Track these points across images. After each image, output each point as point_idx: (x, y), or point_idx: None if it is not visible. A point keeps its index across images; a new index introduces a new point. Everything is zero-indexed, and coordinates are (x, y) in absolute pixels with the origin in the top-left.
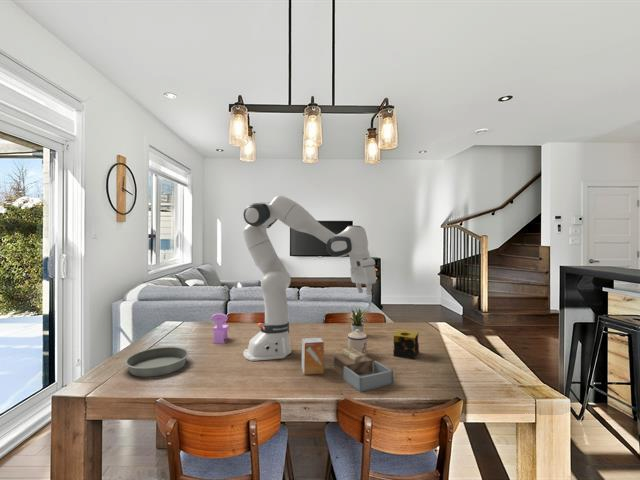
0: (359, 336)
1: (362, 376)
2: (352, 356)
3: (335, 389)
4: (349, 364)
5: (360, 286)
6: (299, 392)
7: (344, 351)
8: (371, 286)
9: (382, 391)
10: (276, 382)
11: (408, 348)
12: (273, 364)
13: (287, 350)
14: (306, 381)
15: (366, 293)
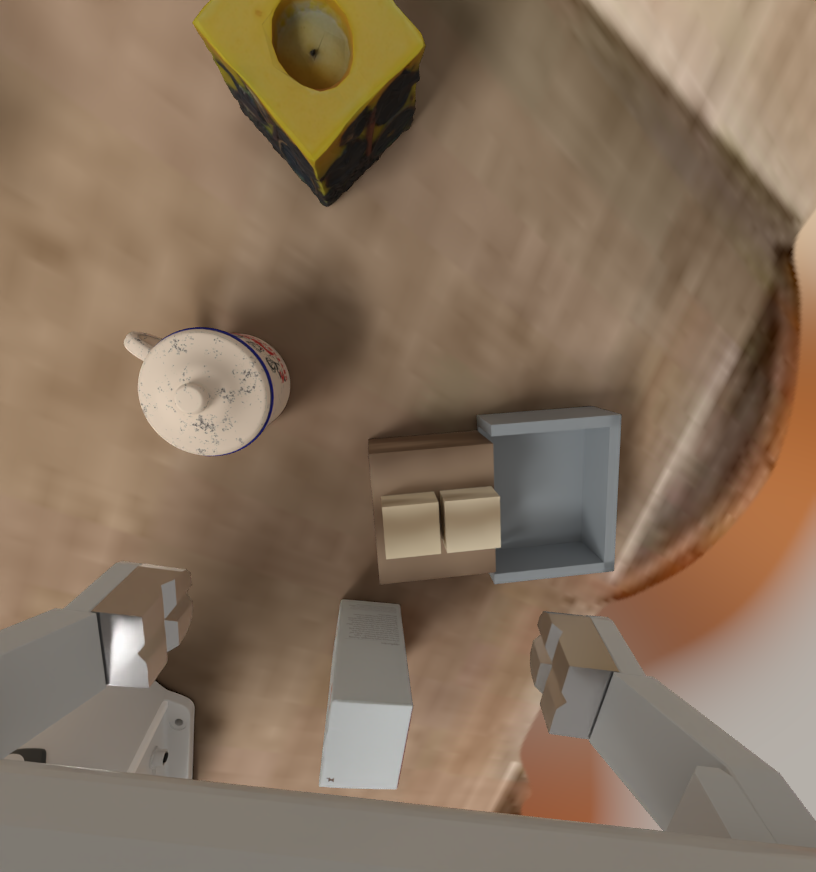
0: (252, 404)
1: (606, 555)
2: (478, 547)
3: (535, 608)
4: (495, 560)
5: (23, 665)
6: (506, 709)
7: (402, 555)
8: (755, 768)
9: None
10: (410, 756)
11: (387, 120)
12: (249, 744)
13: (144, 698)
14: (441, 673)
15: (536, 679)
